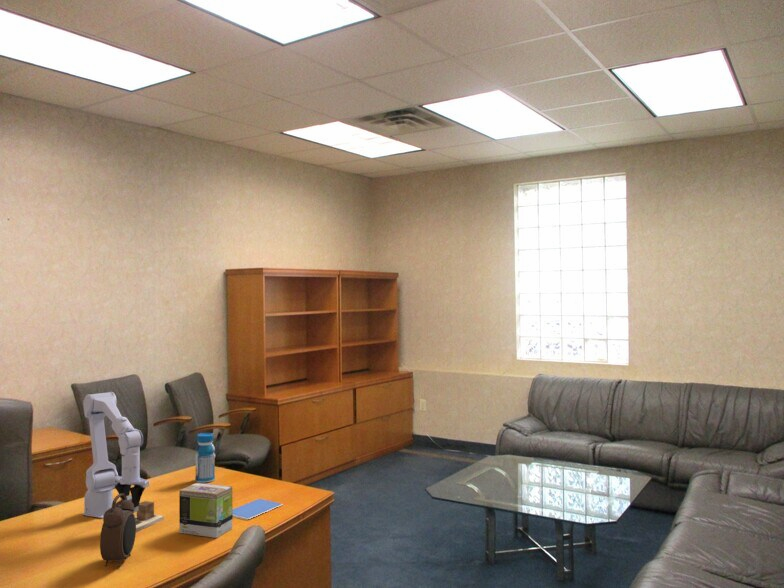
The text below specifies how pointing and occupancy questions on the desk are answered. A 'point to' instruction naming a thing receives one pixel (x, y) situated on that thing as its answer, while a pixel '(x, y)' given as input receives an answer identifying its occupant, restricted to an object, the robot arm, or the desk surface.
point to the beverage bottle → (205, 458)
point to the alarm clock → (118, 531)
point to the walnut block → (145, 510)
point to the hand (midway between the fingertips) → (130, 505)
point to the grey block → (131, 501)
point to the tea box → (205, 510)
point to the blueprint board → (147, 522)
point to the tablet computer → (254, 509)
